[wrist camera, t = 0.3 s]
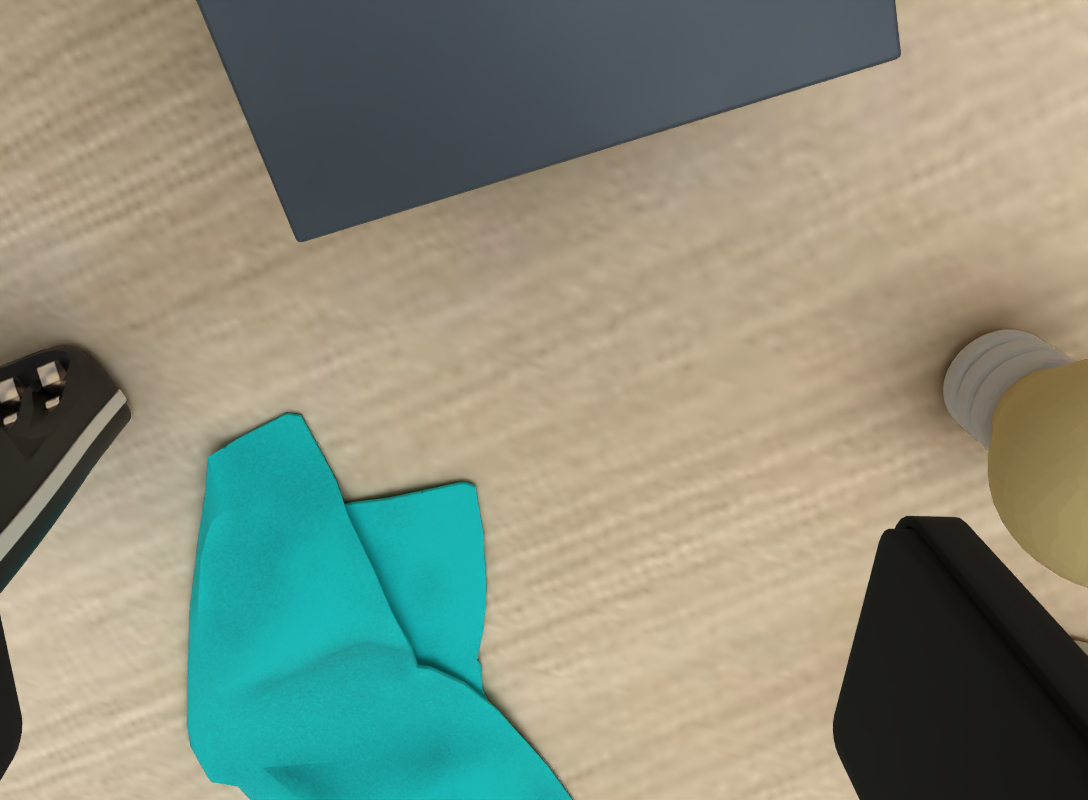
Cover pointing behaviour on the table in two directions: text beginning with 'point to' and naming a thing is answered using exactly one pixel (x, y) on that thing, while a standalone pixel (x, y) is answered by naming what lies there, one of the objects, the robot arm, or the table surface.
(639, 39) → the cabinet
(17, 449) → the battery charger
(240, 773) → the cloth
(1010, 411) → the light bulb
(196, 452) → the table surface
